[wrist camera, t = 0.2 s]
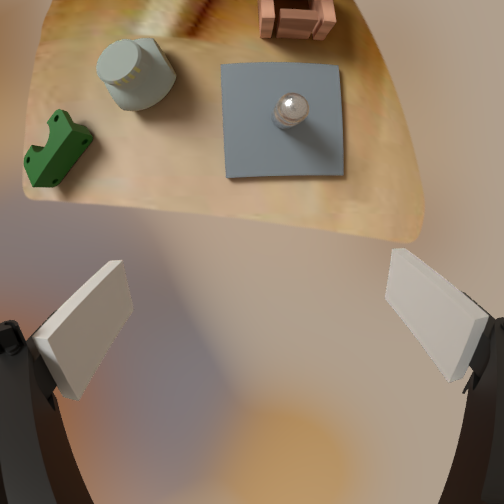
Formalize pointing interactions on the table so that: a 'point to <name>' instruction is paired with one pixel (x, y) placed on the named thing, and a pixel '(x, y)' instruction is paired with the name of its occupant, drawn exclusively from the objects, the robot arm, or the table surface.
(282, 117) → the steel post
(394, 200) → the table surface
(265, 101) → the post board
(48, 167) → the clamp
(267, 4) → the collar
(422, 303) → the robot arm
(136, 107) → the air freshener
